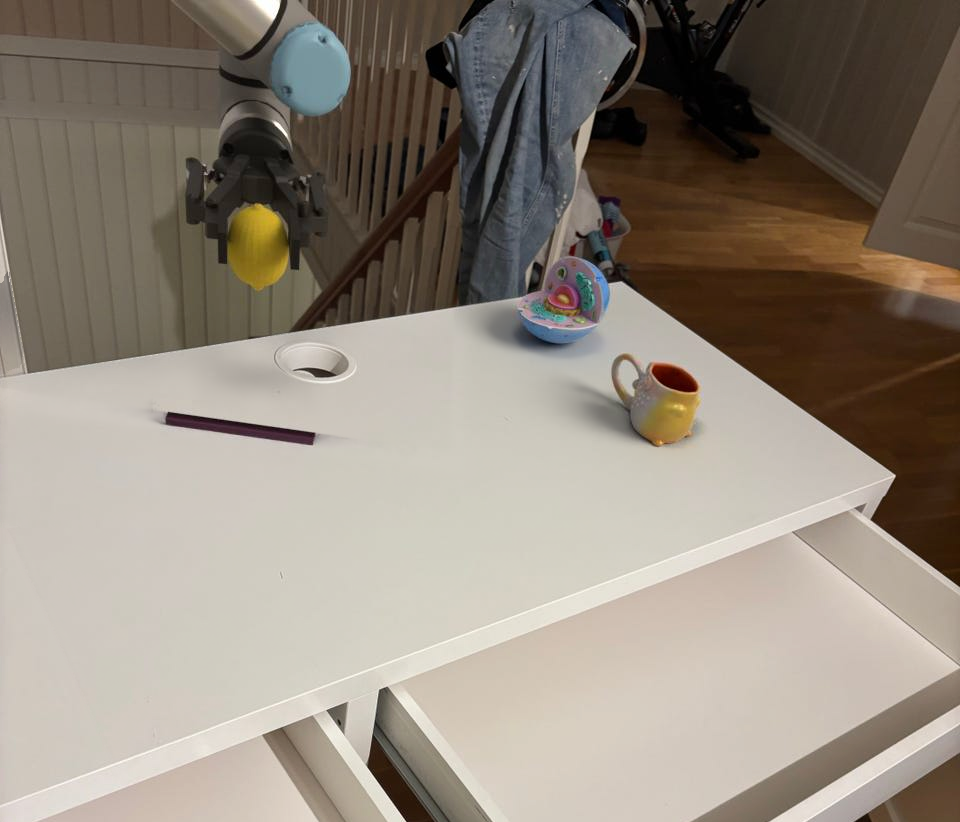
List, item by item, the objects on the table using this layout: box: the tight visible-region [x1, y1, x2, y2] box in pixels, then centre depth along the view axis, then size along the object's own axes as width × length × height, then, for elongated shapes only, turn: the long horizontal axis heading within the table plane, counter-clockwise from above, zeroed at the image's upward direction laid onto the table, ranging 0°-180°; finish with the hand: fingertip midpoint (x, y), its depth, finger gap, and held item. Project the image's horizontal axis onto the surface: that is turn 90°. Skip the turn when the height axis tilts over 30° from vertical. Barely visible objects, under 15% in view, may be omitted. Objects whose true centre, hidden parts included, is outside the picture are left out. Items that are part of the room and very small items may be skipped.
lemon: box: [227, 204, 290, 292], centre depth 89 cm, size 6×6×8 cm
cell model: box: [516, 255, 611, 344], centre depth 116 cm, size 10×12×10 cm
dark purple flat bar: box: [164, 411, 316, 446], centre depth 95 cm, size 14×5×1 cm, turn 90°
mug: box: [610, 352, 701, 447], centre depth 107 cm, size 12×7×7 cm, turn 35°
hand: (259, 251), depth 85 cm, fingers closed on lemon, 5 cm apart
